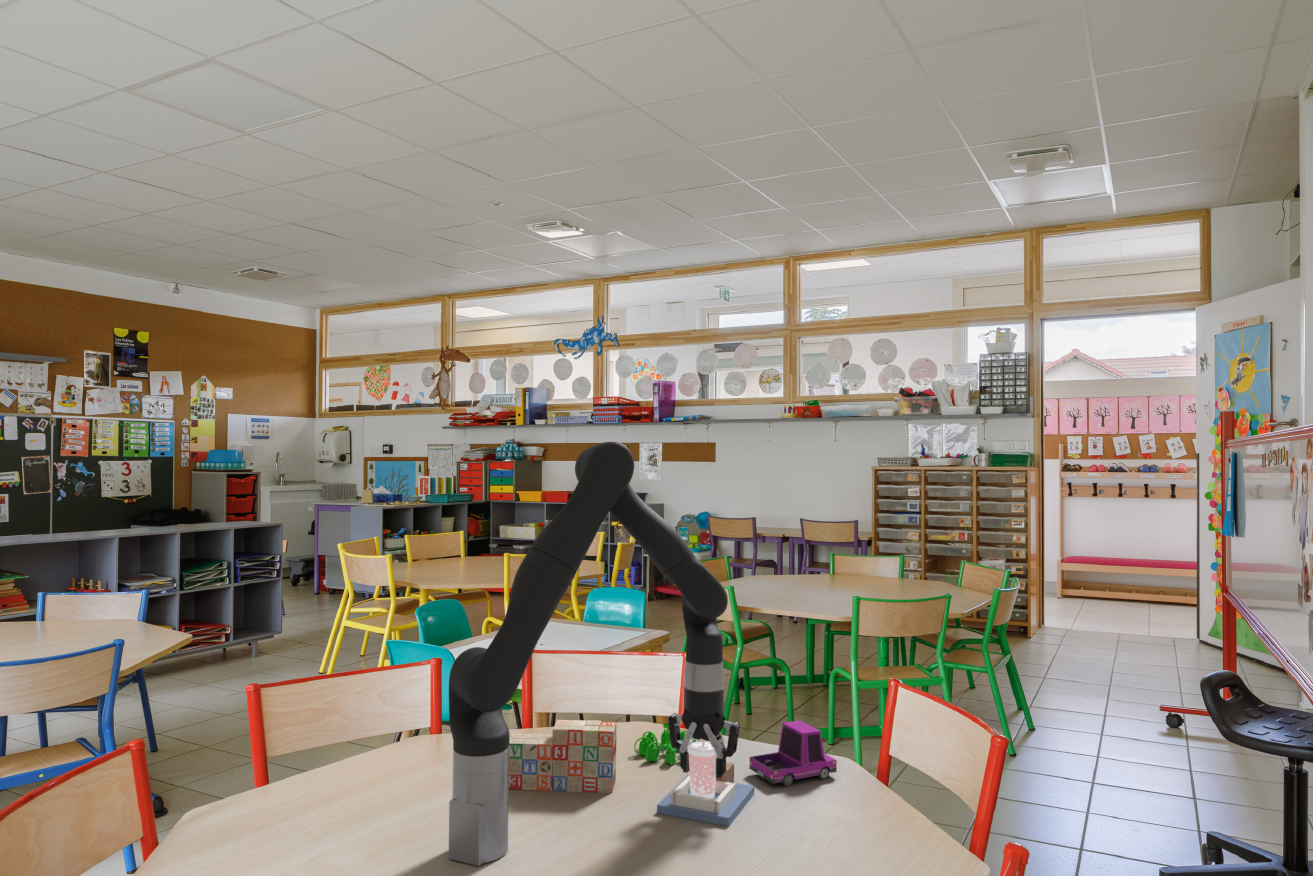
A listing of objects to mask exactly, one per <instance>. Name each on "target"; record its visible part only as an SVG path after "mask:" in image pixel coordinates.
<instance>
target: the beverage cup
mask: <svg viewBox="0 0 1313 876" xmlns="http://www.w3.org/2000/svg"><path fill="white" fill-rule="evenodd" d="M687 749H688V751H687V752H688V753H689V775H690V791H691V795H695V796H701V797H706V798H714V797H715V786H716V758H717V754H716V752H715V750H714V748H713V747H712V745H711V743H710V741H705V740H703V739H701V742H699V741H696V742H694V743H691V744H689V746H688V747H687Z"/></svg>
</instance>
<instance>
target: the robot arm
mask: <svg viewBox="0 0 1313 876" xmlns="http://www.w3.org/2000/svg"><path fill="white" fill-rule="evenodd" d="M634 459H635V458H634V456H633V454H632V452H631V450H630V449H629V448H628V446H626V445H624V444H623V443H621V442H617V441H605V442H600V443H598V444H596V445H595V444H594V445H593V446H590V447H588V448H586V449H585V450H583V451H582V452H581V453H580V454H579V455H578V457H577V458H576V461H575V465H574V473H575V477H576V479H577V481H578V482H577V484H576V486H575V488H574V490H573V492H572V494H571V496H570V497H569V498H568V500H567V502H566V503H565V504H564V505H563V507H562V508H561V510H559V512H558V513H556V515H555V516H554V517H553V518H552V519H551V520H550V521H549V523H548V524H547V525H546V526H544V528H543V529H542V531H541V532H540V533H539V535H538V536H537V537H536V538H535V540H534V541H533V543H532V544H531V545H530V547H529V549H528V551H527V553H526V554H525V556H524V558H523V559H522V561H521V563H520V565H519V566H518V569H517V570H516V573H515V576H514V577H513V581H512V585H511V589H510V595H509V600H508V605H507V609H506V613H505V617H504V619H503V621H502V623H501V625H500V627H499V629H498V631H497V632H496V634H495V636H494V637H493V639H492V641H491V642H490V644H489V645H488V647H487V648H486V647H482V646H481V647H480V646H478V647H477V646H476V647H475V646H474V647H470V648H468V649H467V648H466V650H463V651H462V652H461V653H460V654H459V655H458V656H457V657H456V658H455V660H454V661H453V663H452V666H451V668H450V672H449V677H448V715H449V716H448V718H449V719H448V721H449V729H450V733H451V736H452V740H453V741H452V743H453V745H452V746H453V747H452V796H451V797H452V799H450V800H449V805H448V806H449V807H448V811H449V813H448V860H452V861H456V862H461V863H465V864H468V865H472V866H473V865H474V866H477V867H480V866H482V865H483V864H486V863H490V862H493V861H496V860H498V859H500V858H502V857H504V856H505V855H506V853H508V850H509V813H510V812H509V811H510V810H509V805H510V804H509V803H510V802H509V800H510V799H509V798H510V797H509V795H510V789H509V740H510V739H511V737H510V730H509V729H510V728H509V727H508V724H507V723H506V720H505V718H504V716H503V711H502V708H503V707H504V706H506V705H507V703H509V701H510V700H511V699H512V698H513V697H514V694H516V691H517V689H518V687H519V685H520V682H521V680H522V678H523V676H524V674H525V671H526V669H527V666H528V664H529V662H530V660H531V657H532V655H533V653H534V651H535V648H536V647H537V644H538V642H539V640H540V638H541V637H542V635H543V633H544V631H545V629H546V628H547V626H548V624H549V622H550V620H551V618H552V616H553V614H554V613H555V611H556V609H557V607H558V605H559V604H560V602H561V600H562V598H563V597H564V596H565V593H566V592H567V590H568V589H569V587H570V585H571V583H572V582H573V580H574V578H575V577H576V575H577V572H578V570H579V569H580V566H581V564H582V563H583V561H584V559H585V556H586V555H587V553H588V552H589V549H590V547H591V545H592V543H593V542H594V539H595V538H596V535H597V533H598V531H599V529H600V527H601V525H602V523H603V522H604V520H605V518H606V517H607V515H608V513H610V514H611V515H612V516H613V517H614V518H615V519H616V520H617V521H618V523H620V524H621V526H622V527H623V528H624V529H625V530H626V531H627V532H628V533H629V534H630V535H631V537H632V538H633V539H634V540H635V542H637V543H638V545H639V546H640V547H641V548H642V550H643V551H644V553H646V555H647V556H648V557H649V559H650V560H651V562H653V564H654V565H655V566H656V568H657V569H658V570H659V571H660V572H661V574H662V575H663V576H664V577H665V578H666V579H667V580H668V581H669V582H671V583H672V584H673V585H674V586H675V587H676V588H677V589H678V590H679V592H680V593H681V594H682V596H681V598H682V599H681V607H682V616H683V622H684V623H683V624H684V629H685V634H686V635H685V637H686V638H685V639H686V640H685V665H684V671H683V674H684V675H683V676H684V677H683V680H684V681H683V713H682V714H678V713H677V712H674V713H672V714H671V715H669V716H668V717H667V723H668V724H669V733H670V744H671V747H672V748H677V749H678V750H677V751H678V752H679V751H680V754H679V757H680V760H679V761H680V763H679V764H680V765H679V767H680V769H682V772H683V773H685V774H687V773H690V771H689V753H688V752H687V751H688V749H687V747H688V746H689V744H691V743H692V742H693V740H698V739H699V740H702V739H703V740H705V742H710V743H711V745H712V747H713V748H714V750H715V752H716V754H717V758H716V778H721V777H722V776H723V775H724V774H725V772H726V762H727V758H731V757H732V756H733V755H734V754H735V753H736V752H737V749H738V742H739V735H740V728H741V724H740V722H739V721H734V722H733V721H729V720H726V717H725V715H724V710H725V709H724V708H725V707H724V706H725V705H724V704H725V703H724V700H725V698H724V696H725V695H724V694H725V693H724V692H725V672H724V662H723V661H724V660H723V659H724V658H723V657H724V655H723V654H724V649H723V648H724V647H723V646H724V642H723V640H724V639H723V635H722V632H721V630H720V629H719V627H718V619H717V618H719V617H721V616H722V615H723V614H724V613H725V611H726V610H727V607H728V603H729V600H728V599H729V598H728V593H727V591H726V589H725V588H724V586H723V585H722V583H721V582H720V581H719V580H718V579H717V578H716V577H715V575H714V574H713V573H712V572H711V571H710V570H708V568H707V567H706V566H705V565H704V564H703V563H702V562H701V561H700V560H699V559H698V558H697V556H695V554H694V552H693V551H692V549H691V548H690V547H689V545H688V544H687V543H686V542H685V540H684V539H683V538H682V536H681V535H680V534H679V533H678V532H677V530H675V528H674V527H673V526H672V525H671V524H669V522H667V521H666V520H665V519H664V518H663V517H662V516H660V514H658V513H657V512H656V511H655V510H653V509H652V508H651V507H650V506H649V505H647V503H646V502H645V501H643V499H641V498H640V496H639V495H638V494H637V493H636V491H634V489H633V488H632V486H631V484H630V482H631V481H632V478H633V475H634V471H635V460H634ZM682 723H683V725H684V727H685V728H686V730H687V733H686V732H685V734H686V735H685V737H684V739H683V741H681V734H680V732H681V729H680V728H681V727H680V726H681V725H682ZM724 728H725V731H726V733H727V734H728V738H727V739H728V740H727V746H726V745H725V743H724V742H725V741H724V740H725V739H724V737H723V734H722V733H721V732H722V730H723V729H724Z"/></svg>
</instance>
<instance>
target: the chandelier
mask: <svg viewBox="0 0 1313 876" xmlns="http://www.w3.org/2000/svg"><path fill="white" fill-rule="evenodd" d="M662 728H664V729H663V732H661V735H660V743H659V742H658V738H657V736H656V734H655V733H654V732H653V731H650V730H648V731H645V732H644V733H643V734H642V736H641V737H639V738H637V739H636V741H635V742H634V745H633V746H634V747H633V748H634V752H635V754H636V755H637V756H644V758H645V761H646V762H647V763H648V764H650V763H652V762H656V761H657V760H658V758H659V757H660V751H662V750H665V755H664V756H665V759H664V760H665V761H664V762H665V763H666V764H669V766H673V764H674V763H675V762H676V751H678V754H679V755H680V751H679V750H678V749H677V748H672V747H671V741H670V733H669V724H668V722H666V723H663V724H662ZM687 731H688V730H687ZM687 731H686V730H680V734H681V741H683V739H684V737H685V735H686V733H687ZM697 741H698V742H702V740H701V739H694V740H693V742H692V743H694V742H697ZM638 742H639V744H638V751H637V749H636V745H637V743H638Z"/></svg>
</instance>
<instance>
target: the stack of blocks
mask: <svg viewBox="0 0 1313 876" xmlns="http://www.w3.org/2000/svg"><path fill="white" fill-rule="evenodd" d="M616 767H617V721H601V720H597V719H596V720H595V719H593V720H592V719H588V720H583V719H580V720H577V719H576V720H575V719H574V720H573V719H572V720H571V719H568V720H567V719H556V722H555V724H554V726H553V728H552V734H541V733H513V734H512V735H511V737H510V738H509V790H523V791H542V792H543V791H545V792H551V791H553V792H577V793H579V792H580V793H602V794H606V793H607V794H613V792H614V790H615V784H616V777H617V775H616V773H617V768H616Z"/></svg>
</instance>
